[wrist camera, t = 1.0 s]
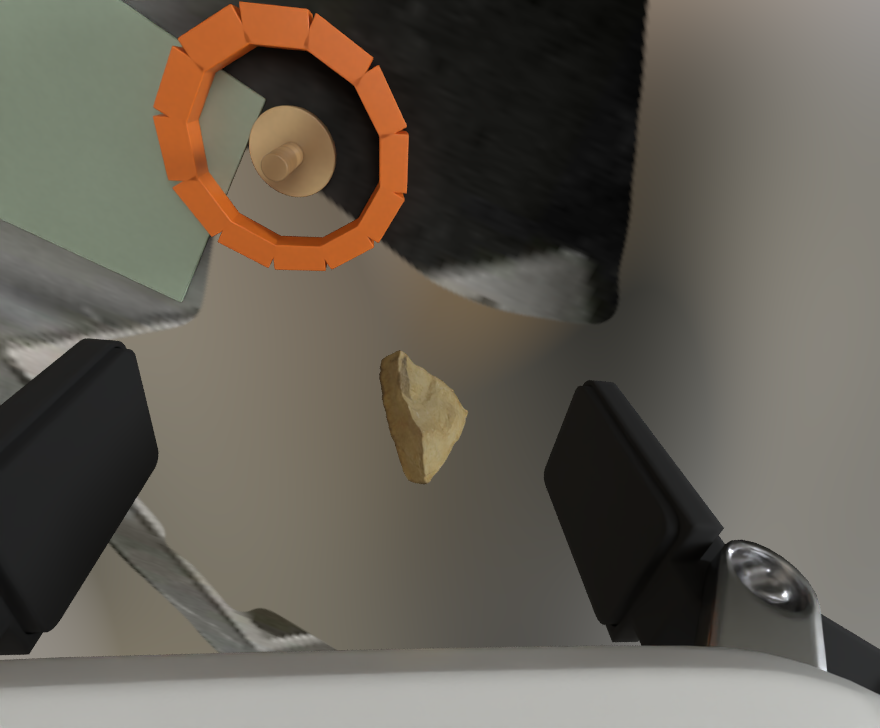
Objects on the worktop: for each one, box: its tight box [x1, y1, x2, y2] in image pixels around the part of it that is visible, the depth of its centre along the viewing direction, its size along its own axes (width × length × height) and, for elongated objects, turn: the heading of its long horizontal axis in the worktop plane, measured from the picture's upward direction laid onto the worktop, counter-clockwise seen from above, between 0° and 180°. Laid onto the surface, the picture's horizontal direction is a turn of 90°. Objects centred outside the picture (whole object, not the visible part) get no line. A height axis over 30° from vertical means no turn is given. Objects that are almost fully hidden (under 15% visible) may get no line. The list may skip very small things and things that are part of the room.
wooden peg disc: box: [249, 105, 336, 197], centre depth 29 cm, size 6×6×7 cm
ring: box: [153, 2, 409, 271], centre depth 31 cm, size 16×16×2 cm
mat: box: [0, 0, 266, 302], centre depth 30 cm, size 18×18×1 cm
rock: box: [379, 350, 468, 484], centre depth 42 cm, size 11×9×10 cm
